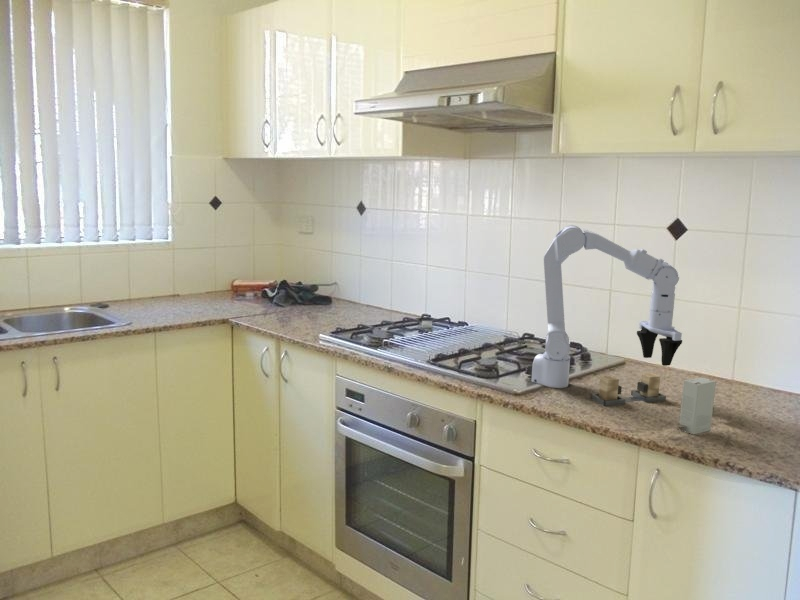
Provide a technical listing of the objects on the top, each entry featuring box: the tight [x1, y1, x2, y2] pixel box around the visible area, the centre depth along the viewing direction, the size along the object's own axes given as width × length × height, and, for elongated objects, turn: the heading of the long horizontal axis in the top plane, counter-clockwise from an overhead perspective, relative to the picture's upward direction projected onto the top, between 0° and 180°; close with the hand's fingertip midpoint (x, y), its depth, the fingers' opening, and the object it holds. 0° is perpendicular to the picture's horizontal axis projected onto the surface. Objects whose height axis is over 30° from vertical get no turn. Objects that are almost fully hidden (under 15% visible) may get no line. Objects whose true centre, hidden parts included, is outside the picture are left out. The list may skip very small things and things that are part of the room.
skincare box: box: [678, 376, 717, 435], centre depth 162 cm, size 6×4×12 cm
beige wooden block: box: [636, 372, 661, 397], centre depth 181 cm, size 4×3×6 cm
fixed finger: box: [598, 375, 623, 400], centre depth 178 cm, size 4×3×6 cm
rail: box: [590, 389, 667, 407], centre depth 180 cm, size 18×6×3 cm, turn 108°
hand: (656, 361), depth 185 cm, fingers open, 7 cm apart
